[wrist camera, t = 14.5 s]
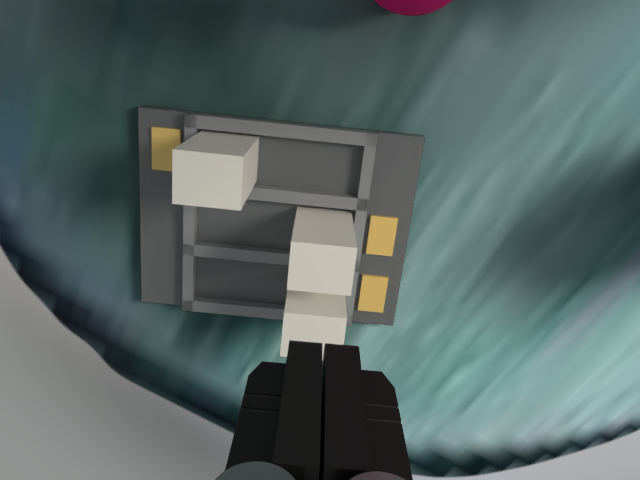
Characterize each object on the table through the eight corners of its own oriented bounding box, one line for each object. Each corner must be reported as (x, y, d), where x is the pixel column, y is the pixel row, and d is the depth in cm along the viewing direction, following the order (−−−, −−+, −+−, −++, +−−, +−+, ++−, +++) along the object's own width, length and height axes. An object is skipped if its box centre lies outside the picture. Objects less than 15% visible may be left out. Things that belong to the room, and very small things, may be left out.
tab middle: (351, 211, 38) (357, 248, 31) (346, 251, 39) (350, 296, 32) (297, 206, 38) (291, 241, 31) (293, 246, 39) (286, 289, 32)
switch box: (422, 135, 37) (427, 139, 35) (391, 319, 42) (394, 330, 40) (143, 105, 37) (133, 108, 35) (145, 295, 42) (138, 306, 40)
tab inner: (259, 136, 36) (243, 156, 29) (256, 180, 37) (240, 210, 30) (202, 130, 36) (172, 149, 29) (201, 174, 37) (172, 203, 30)
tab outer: (343, 271, 40) (347, 318, 33) (338, 308, 41) (341, 361, 34) (291, 265, 40) (283, 312, 32) (287, 303, 41) (280, 356, 34)
